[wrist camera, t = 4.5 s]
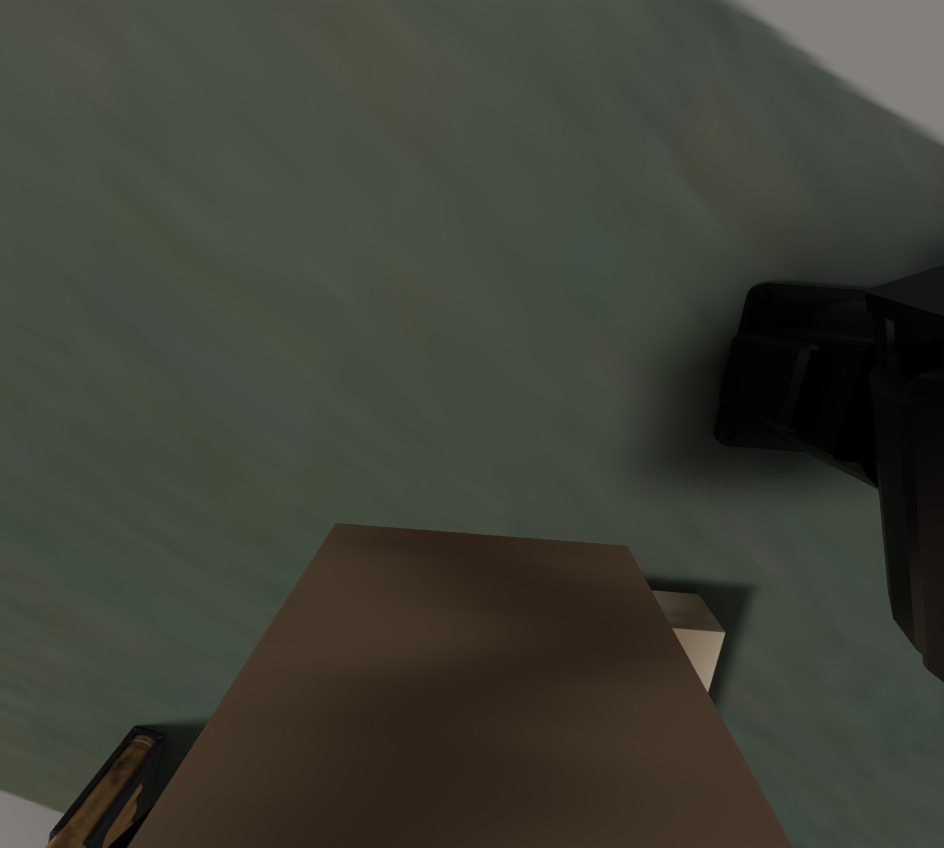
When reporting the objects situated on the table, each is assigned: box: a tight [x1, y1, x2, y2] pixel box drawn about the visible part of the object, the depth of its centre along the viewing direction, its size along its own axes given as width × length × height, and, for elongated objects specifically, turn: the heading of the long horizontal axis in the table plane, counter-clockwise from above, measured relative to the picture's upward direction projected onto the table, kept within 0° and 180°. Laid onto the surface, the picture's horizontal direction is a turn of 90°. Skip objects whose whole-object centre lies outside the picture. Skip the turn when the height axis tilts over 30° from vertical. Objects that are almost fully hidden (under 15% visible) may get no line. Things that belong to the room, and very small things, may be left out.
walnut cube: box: [127, 523, 793, 848], centre depth 7 cm, size 6×6×6 cm
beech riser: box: [652, 590, 725, 692], centre depth 22 cm, size 16×12×2 cm
